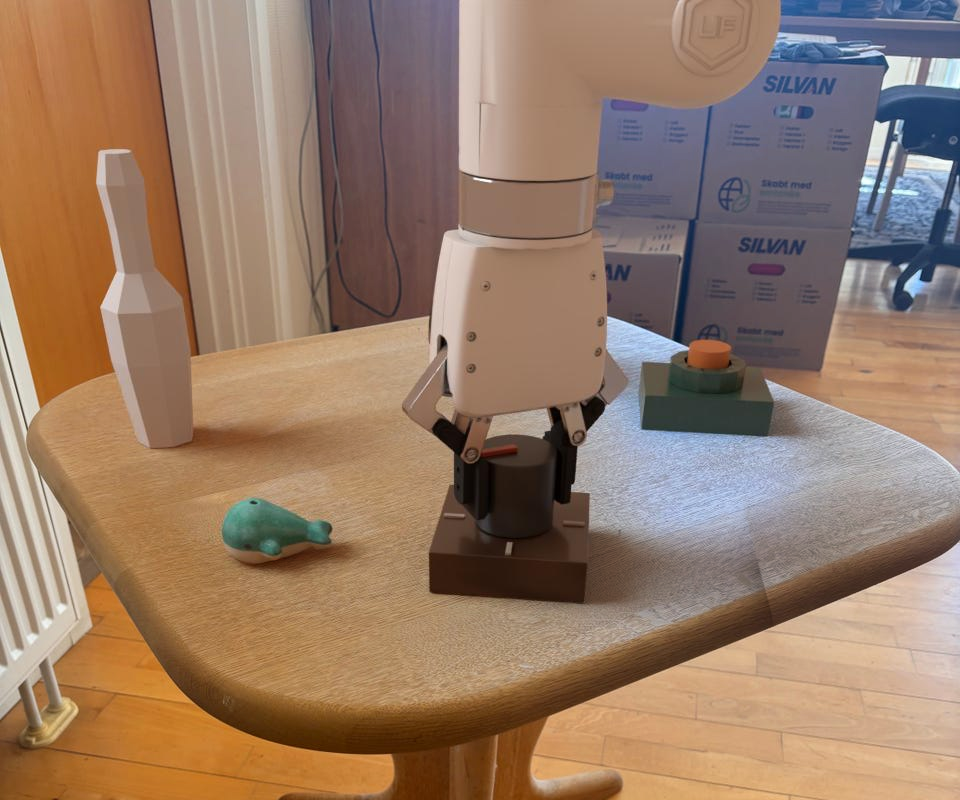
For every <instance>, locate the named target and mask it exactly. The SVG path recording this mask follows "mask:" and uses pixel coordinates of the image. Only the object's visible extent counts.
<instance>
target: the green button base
mask: <svg viewBox="0 0 960 800" xmlns="http://www.w3.org/2000/svg"><path fill="white" fill-rule="evenodd" d="M688 353H689V349H688V350H687V349H686V350H681V351H678V352H676V353H674V354H672V355H671V356H670V358H669V362H656V361H655V362H653V361H641V367H640V376H639V385H638V393H637V395H638V406H639V420H640V430H641V431H656V432H657V431H658V432H659V431H660V432H674V433H693V434H712V435H729V436H730V435H731V436H749V437H766V438H767V437H769V432H770V426H771V422H772V416H773V411H774V406H775V401H774V398H773V395H772V393H771V391H770V388H769V385H768V383H767V381H766V378H765V375H764V373H763V370H762V368H761V367H756V366H754V367H753V366H747V365H746V363H745V359H742V358H740V357H738V356H737V355H734V354H732V353H730V358H729V364H728V368H723V369H702V368H698V367H694V366H691V365H689V364H687V360H688Z"/></svg>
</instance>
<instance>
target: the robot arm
mask: <svg viewBox="0 0 960 800" xmlns="http://www.w3.org/2000/svg"><path fill="white" fill-rule="evenodd" d="M781 5H782V2H781V0H459V1H458V12H459V13H458V33H459V34H458V224H457V225H458V230H455V229H451V230H447V231H445V232H444V233H443V238H442V241H441V246H440V253H439V258H438V264H437V269H436V276H435V282H436V283H435V282H434V286H435V291H434V290H433V291H434V299H433V309H432V323H431V338H430V344H429V363H428V364H429V365H428V367H427V368H426V369H425V371H424V372H423V373H422V374H421V376H420V378H419V379H418V380H417V381H416V383H415V384H414V386H413V387H412V388H411V389H410V391H409V393H408V394H407V396H406V397H405V398H404V400H403V401H402V403H401V410H402V412H403V413H404V414H405V415H406V416H407V417H408V418H409V419H410V420H411V421H412V422H414V423H416V424H417V425H419V426H420V427H421V428H423V430H426V432H429V433H430V434H432V435H433V436H434V437H436V438H437V439H438V440H439V441H440V442H441V443H443V444H444V446H446V447H447V448H448V449H450V450H451V451H452V452H453V485H454V495H455V498H456V500H457V501H458V503H459V504H461V505H463V507H464V508H465V509H466V510H467V511H468V512H469V513H470V514H471V515H472V516H473V517H474V519H475V520H482V519H485V517H487V515H488V477H489V466H488V463H487V462H486V461H485V460H484V459H483V458H482V449H483V446H484V443H485V440H486V439H487V437H488V433H489V431H490V427H491V425H492V421H493V417H496V416H503V415H510V414H519V413H524V412H531V411H532V412H533V411H539V410H544V409H546V412H547V416H548V419H549V423H550V430H545V431H544V435H543V436H542V439H544V440H546V441H548V442H550V443H551V444H553V445H554V446H555V448H556V449H557V467H556V482H555V497H554V500H555V501H556V502H558V503H560V504H561V505H562V504H568V503H570V499H571V492H572V485H573V486H574V485H575V482H576V474H577V473H576V472H577V462H578V447H580V446H582V445H583V444H584V443H585V442H586V440H587V437H588V433H587V432H588V431H589V430H590V429H591V428H592V426H593V425H594V424H596V423H597V421H598V420H599V419H600V417H602V415H603V414H604V412H605V410H606V406H610V404H611V403H612V402H614V400H615V399H616V398H617V397H619V395H621V393H622V392H624V391H625V390H626V388H627V387H628V384H629V380H628V377H627V376H626V374H625V372H624V371H623V370H622V368H621V367H620V366H619V364H618V363H617V362H616V360H615V359H614V358H613V356H612V355H611V354H610V352H609V351H608V350H607V338H608V337H607V336H608V290H607V288H608V287H607V274H606V273H607V271H606V263H605V255H604V246H603V240H602V233H601V232H600V231H598V230H597V229H595V228H593V227H594V223H596V221H597V209H599V208H600V207H601V206H609V205H611V204H612V203H613V201H614V197H615V187H614V184H613V182H612V180H611V179H600V172H599V171H598V162H599V152H600V151H599V150H600V139H601V137H600V136H601V126H602V125H601V124H602V113H603V112H602V111H603V100H605V99H608V100H609V99H610V100H617V101H626V102H627V101H628V102H633V103H639V104H640V103H641V104H646V105H651V106H658V107H661V108H662V107H663V108H667V109H668V108H669V109H674V110H698V109H703V108H708V107H711V106H714V105H717V104H719V103H723V102H724V101H727V100H729V99H730V98H732V97H734V96H736V94H738V93H740V92H741V91H742V90H743V89H745V88H746V87H747V86H749V84H750V83H751V82H752V81H754V79H755V78H757V76H758V75H759V73H760V72H761V71H762V70H763V68H764V67H765V65H766V64H767V61H768V60H769V58H770V56H771V54H772V52H773V50H774V47H775V45H776V41H777V39H778V36H779V32H780V31H779V30H780V25H781V18H782V17H781V16H782V8H781V7H782V6H781ZM442 397H446V398H452V403H453V409H454V411H453V415H452V418H451V421H450V419H448V418H447V417H445V416H444V415H443V414H442V413H441V412H439V411H437V410H436V406H437V403H438V402H439V401H440V399H441V398H442Z"/></svg>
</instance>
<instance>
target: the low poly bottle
mask: <svg viewBox="0 0 960 800" xmlns="http://www.w3.org/2000/svg"><path fill="white" fill-rule="evenodd" d="M95 179H96V180H95V181H96V182H95V184H96V188H97V190H98V195H99V198H100V201H101V202H100V203H101V206H102V209H103V213H104V216H105V220H106V223H107V227H108V233H109V238H110V243H111V249H112V252H113V258H114V263H115V269H116V273H115V274H114V276H113V279H112V281H111V283H110V285H109V287H108V289H107V292H106V294H105V296H104V299H103V300H102V303H101V305H100V307H99V308H100V312H101V317H102V322H103V328H104V332H105V337H106V341H107V347H108V352H109V357H110V361H111V365H112V367H113V370H114V373H115V376H116V379H117V382H118V386H119V389H120V391H121V394H122V397H123V401H124V403H125V406H126V410H127V412H128V415H129V417H130V418H129V419H130V421H131V424H132V427H133V430H134V434H135V436H136V439H137V442H138V443H139V444H141V445H143V446H145V447H147V448H149V449H162V448H174V447H177V446H180V445H181V446H182V445H185V444H186V443H190V442H192V441H193V438H194V437H193V436H194V414H193V413H194V407H193V384H192V383H193V381H192V354H191V353H192V351H191V344H190V337H189V331H188V325H187V319H186V312H185V305H184V298H183V296H181V294H180V293H179V292H178V290H176V289H175V287H174V286H173V285H172V284H171V283H170V282H169V281H168V280H167V278H165V276H164V275H163V274H162V273H161V272H160V271H159V270H158V268H157V267H156V264H155V259H154V253H153V247H152V246H153V245H152V241H151V240H152V239H151V235H150V229H149V222H148V209H147V198H146V197H147V196H146V186H145V185H146V184H145V183H146V182H145V179H144V177H143V174H142V172H141V169H140V167H139V165H138V162H137V160H136V158H135V156H134V153H133V151H132V150H131V149H125V148H110V149H101V150H99V151H98V153H97V167H96V178H95Z"/></svg>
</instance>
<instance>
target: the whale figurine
mask: <svg viewBox="0 0 960 800" xmlns="http://www.w3.org/2000/svg"><path fill="white" fill-rule="evenodd" d="M332 532H333V526H332V524H331V523H330V522H328V521H326V520H321V519H316V520H313V521H310V520H307V519H305V518H304V517H302V516H300V515H298V514H296V513H294V512H292V511H291V510H288V509H286V508H284V507H281V506H279V505H277V504H274V503H272V502H271V501H269V500H266V499H263V498H259V497H249V498H245V499H242V500H240V501H238V502H237V503H235V504H234V505H232V507H230V508H229V510H228V511H227V513H226V514H225V516H224V518H223V521H222V525H221V536H222V543H223V546H224V548H225V550H226V552H227V553H228V555H230V556H231V557H232V558H234V559H235V560H237V561H239V562H242V563H246V564H253V565H255V564H264V563H268V562H271V561H272V562H273V561H277V560H280V559H283V558H287V557H290V556H293V555H296V554H298V553H301V552H304V551H305V550H307V549H310V548H314V549H318V550H324V549H327V548H329V547H330V546H331V545H332V540H331V537H330V535H331V534H332Z"/></svg>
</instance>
